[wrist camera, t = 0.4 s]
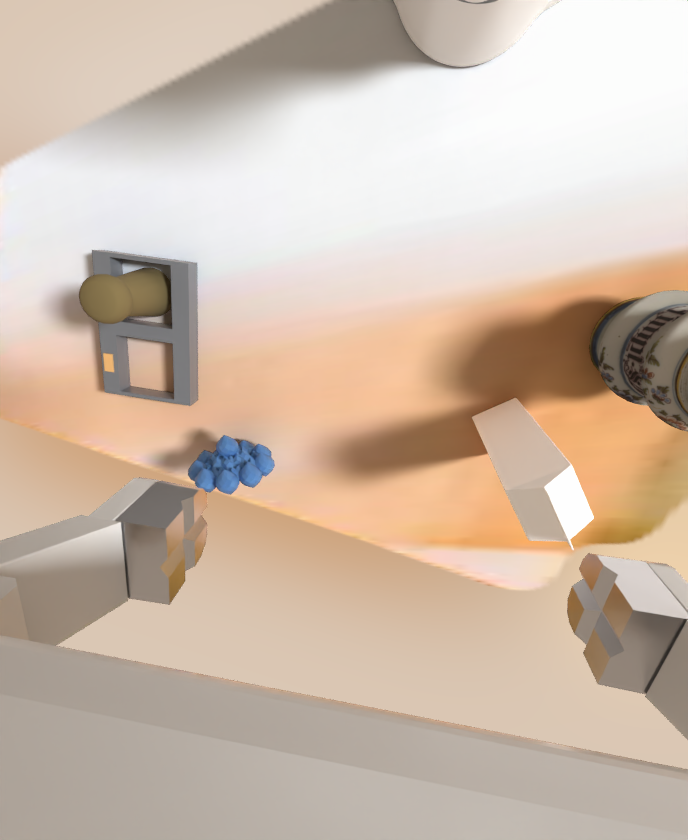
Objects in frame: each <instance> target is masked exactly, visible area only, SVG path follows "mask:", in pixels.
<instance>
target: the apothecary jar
mask: <svg viewBox="0 0 688 840" xmlns="http://www.w3.org/2000/svg"><path fill="white" fill-rule="evenodd" d="M589 349H590V355H591V359H592V362H593V364H594V365H595V367H596V368H597V369H598V370H599V371H600V373H601V376H602V378H603V380H604V381H605V383H606V384H607V386H608V387H609V388H610V389H611V390H612V391H613V392H614V393H615V394H617V395H618V396H620V397H621V398H623V399H625V400H627V401H629V402H632V403H635V404H640V405H647V406H649V407H650V409H651V410H652V411H653V413H654V414H655V415H656V416H657V417H658V418H660V419H661V420H662V421H664V422H665V423H667V424H669V425H671V426H673V427H675V428H677V429H680V430H684V431H688V291H678V290H673V291H664V292H659V293H655V294H652V295H649V296H646V297H639V298H634V299H630V300H627V301H624V302H622V303H620V304H618V305H616V306H614V307H613V308H612V309H610V310H609V311H608V312H607V313H605V314H604V316H603V317H602V318H601V319H600V320H599V322H598V323H597V325H596V326H595V328H594V330H593V333H592V335H591V339H590V345H589Z"/></svg>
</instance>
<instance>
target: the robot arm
mask: <svg viewBox="0 0 688 840" xmlns="http://www.w3.org/2000/svg"><path fill="white" fill-rule="evenodd" d="M393 1H394V3H395V5H396V7H397V10H398V13H399V15H400V18H401V21H402V23H403V26H404V28H405V30H406V32H407V33H408V35H409V37H410V38H411V40H412V41H413V42H414V44H415V45H416V46H417V47H418V48H419V49H420V50H421V51H422V52H423V53H425V54H426V55H427V56H429V57H430V58H432V59H434V60H435V61H438V62H440V63H443V64H446V65H450V66H457V67H467V66H474V65H479V64H482V63H485V62H487V61H490V60H492V59H494V58H496V57H498V56H499V55H501V54H502V53H504V52H505V51H507V50H508V49H509V48H510V47H512V46H513V45H514V44H515V43H516V42H517V41H518V40H519V39H520V38H521V37H522V36H523V35H524V33H525V32H526V31H527V30H528V28H529V27H530V26H531V25H532V23H533V22H534V21H535V20H536V18H537V17H538V16H539V15H540V14H541V13H542V12H543V11H545V10H547V9H549V8H550V7H552V6H553V5H555V4H557V3H558V2H560V1H561V0H393ZM206 507H207V493H206V492H205V490H204V489H202V488H196V487H191V486H186V485H180V484H175V483H169V482H164V481H159V480H154V479H147V478H140V477H139V478H134V479H132V480H131V481H130V482H129V483H127V484H126V485H125V486H124V487H123V488H121V489H120V490H119V491H118V492H117V493H115V494H114V495H113V496H112V497H111V498H110V499H108V500H107V501H106V502H105V503H103V504H102V505H101V506H100V507H99V508H98V509H96V510H95V511H94V512H93V513H92V514H90V515H89V516H83V515H80V516H77V517H73V518H70V519H67V520H64V521H61V522H58V523H55V524H51V525H49V526H45V527H42V528H39V529H36V530H33V531H29V532H26V533H23V534H20V535H17V536H14V537H11V538H7V539H4V540H1V541H0V840H688V769H682V768H678V767H672V766H667V765H662V764H657V763H652V762H647V761H642V760H637V759H631V758H626V757H621V756H616V755H611V754H606V753H601V752H596V751H591V750H586V749H581V748H576V747H571V746H566V745H561V744H556V743H551V742H546V741H540V740H535V739H530V738H525V737H520V736H515V735H510V734H504V733H500V732H495V731H490V730H485V729H480V728H475V727H470V726H465V725H459V724H454V723H449V722H444V721H439V720H433V719H429V718H423V717H418V716H413V715H408V714H403V713H398V712H393V711H388V710H382V709H377V708H372V707H367V706H362V705H357V704H351V703H346V702H341V701H336V700H331V699H326V698H321V697H315V696H310V695H305V694H300V693H295V692H290V691H284V690H279V689H275V688H269V687H264V686H259V685H254V684H249V683H243V682H238V681H234V680H228V679H223V678H218V677H213V676H208V675H203V674H198V673H193V672H187V671H182V670H177V669H172V668H167V667H162V666H157V665H151V664H147V663H141V662H136V661H131V660H126V659H121V658H116V657H111V656H105V655H100V654H95V653H90V652H85V651H80V650H75V649H70V648H64V647H60V646H56V645H58V644H60V643H61V642H62V641H64V640H66V639H67V638H69V637H71V636H72V635H74V634H75V633H77V632H78V631H80V630H82V629H83V628H85V627H87V626H88V625H90V624H91V623H93V622H95V621H96V620H98V619H99V618H101V617H103V616H104V615H106V614H107V613H109V612H111V611H112V610H114V609H115V608H117V607H118V606H120V605H122V604H123V603H125V602H126V601H128V598H130V599H136V600H143V601H150V602H155V603H162V604H168V605H170V603H171V602H172V600H173V599H174V597H175V596H176V594H177V593H178V591H179V590H180V588H181V587H182V585H183V584H184V582H185V571H186V570H188V569H190V568H192V567H194V566H195V565H196V564H197V562H198V560H199V559H200V557H201V555H202V552H203V549H204V547H205V543H206V537H207V523H206V521H205V520H204V518H203V517H202V515H201V514H202V513H203V511H204V510H205V509H206ZM579 570H580V572H581V575H582V577H583V579H582V580H581V581H579V582H577V583H576V584H574V585H573V586H572V588H571V591H570V594H569V597H568V608H567V613H568V618H569V623H570V625H571V627H572V630H573V632H574V634H575V635H576V636H577V637H579V638H580V639H581V640H582V641H583V642H584V643H585V644H586V648H585V650H584V652H583V653H584V656H585V658H586V660H587V662H588V664H589V666H590V668H591V671H592V673H593V675H594V677H595V679H596V681H597V683H598V684H600V685H605V686H609V687H614V688H618V689H624V690H628V691H633V692H637V693H642V694H646V696H645V697H646V698H647V699H648V700H649V701H650V702H651V703H652V704H653V705H654V706H655V707H656V708H657V709H658V710H659V711H660V712H661V713H662V714H663V715H664V716H665V717H666V718H667V719H668V720H669V721H670V722H671V723H672V724H673V725H674V726H675V727H676V728H677V729H678V730H679V731H680V732H681V733H682V734H683V736H684V737H685V738H687V740H688V583H687V582H686V581H685V580H684V579H683V577H682V576H681V575H680V574H679V573H678V572H677V571H676V570H675V569H674V568H673V567H671V566H669V565H667V564H663V563H654V562H646V561H637V560H630V559H624V558H617V557H610V556H603V555H596V554H590V553H589V554H587V556H586V557H585V558H584V559H583V561H582V563H581V565H580V568H579Z"/></svg>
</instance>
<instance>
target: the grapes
mask: <svg viewBox="0 0 688 840" xmlns="http://www.w3.org/2000/svg"><path fill="white" fill-rule="evenodd" d="M274 466H275V465H274V460H273V459H272V458H271V451H270V450H269V449H268V448H267V447H265V446H263V445H260V444H257V445H256V446H254V445H253V444H251V443H250V442H247V441H245V440H243V441H241V442H240V443H239V444H238V443H237V441H236V440H234V439H233V438H231V437H228V436H225V435H224V436H223V437H222V438H221V439H220V440H219V441H218V443H217V445H216V451H215V452H214V453H212V452H209V451H206V450H204V451H203V452H202V453H201V454H200V455H199V457H198V458H197V460H196V461H195V462H194V463H193V464H192V465H191V466H190V468H189V470H188V475H189V477H190V478H191V480H193V481H195V485H196V486H197V488H202V489H204V490H205V492H211V491H213V490H214V489H215V488H216V487H217V489H218V490H219V491H221V492H223V493H226V494H232V493H233V492H234V491H235V490H236V489H237V487H238V485H239V481H240V482H241V483H242V484H244V485H246V486H248V487H252V488H254V487H255V486H256V485H257V484H258V483H259V482H260V480H261V478H262V475H263V476H267V475H268V474H269V473H270V472H271V471H272V470H273V468H274Z"/></svg>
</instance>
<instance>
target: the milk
mask: <svg viewBox="0 0 688 840" xmlns="http://www.w3.org/2000/svg"><path fill="white" fill-rule="evenodd" d="M472 419H473V421H474V424H475V426H476V428H477V430H478V432H479V435H480V437H481V439H482V441H483V443H484V446H485V448H486V450H487V452H488V455H489V457H490V459H491V461H492V463H493V466H494V468H495V470H496V472H497V474H498V477H499V479H500V481H501V483H502V485H503V488H504V490H505V492H506V494H507V496H508V498H509V500H510V502H511V505H512V507H513V509H514V511H515V513H516V515H517V517H518V519H519V521H520V523H521V525H522V527H523V530H524V532H525V534H526V536H527V538H528V540H530V541H567V542H568V544H569V545H570V547H571V549H572V550H574V549H573V546H572V544H571V542H570V539H571V538H572V537H573V536H575V535H576V534H577V533H578V532H579V531H580V530H581V529H582V528H584V527H585V526H586V525H587V524H588V523H589V522H590V521H592V520H593V518H594V517H593V514H592V512H591V510H590V507H589V505H588V502H587V500H586V498H585V495H584V493H583V490H582V488H581V486H580V483H579V481H578V479H577V476H576V474H575V471H574V469H573V467H572V465H571V463H570V462H569V461H568V460H567V459H566V457H565V456H564V455H563V454H562V452H561V451H560V450H559V449H558V448H557V446H556V445H555V444H554V443H553V442H552V440H551V439H550V438H549V437H548V436H547V434H546V433H545V432H544V431H543V429H542V428H541V427H540V426H539V425H538V423H537V422H536V421H535V420H534V419H533V417H532V416H531V415H530V414H529V412H528V411H527V410H526V409H525V408H524V406H523V405H522V404H521V403H520V402H519V400H518V399H517V398H513V399H511V400H509V401H506V402H504V403H502V404H500V405H497V406H495V407H493V408H490V409H488V410H486V411H484V412H481V413H479V414H477V415H474V416H472Z"/></svg>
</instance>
